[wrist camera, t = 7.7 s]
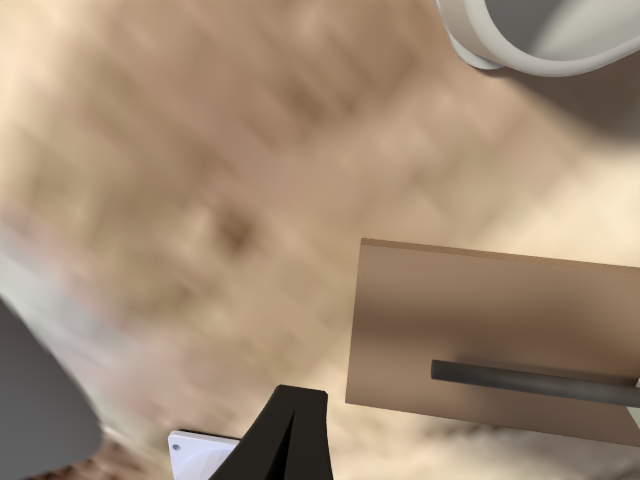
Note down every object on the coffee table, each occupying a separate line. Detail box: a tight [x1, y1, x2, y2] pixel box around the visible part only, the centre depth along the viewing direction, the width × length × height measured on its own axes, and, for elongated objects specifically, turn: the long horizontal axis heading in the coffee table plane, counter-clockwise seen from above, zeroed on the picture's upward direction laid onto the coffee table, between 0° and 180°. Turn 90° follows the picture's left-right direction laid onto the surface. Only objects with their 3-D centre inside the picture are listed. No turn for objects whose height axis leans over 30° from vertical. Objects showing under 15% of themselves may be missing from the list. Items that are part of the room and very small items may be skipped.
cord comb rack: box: [345, 238, 640, 447], centre depth 17 cm, size 9×20×7 cm, turn 87°
